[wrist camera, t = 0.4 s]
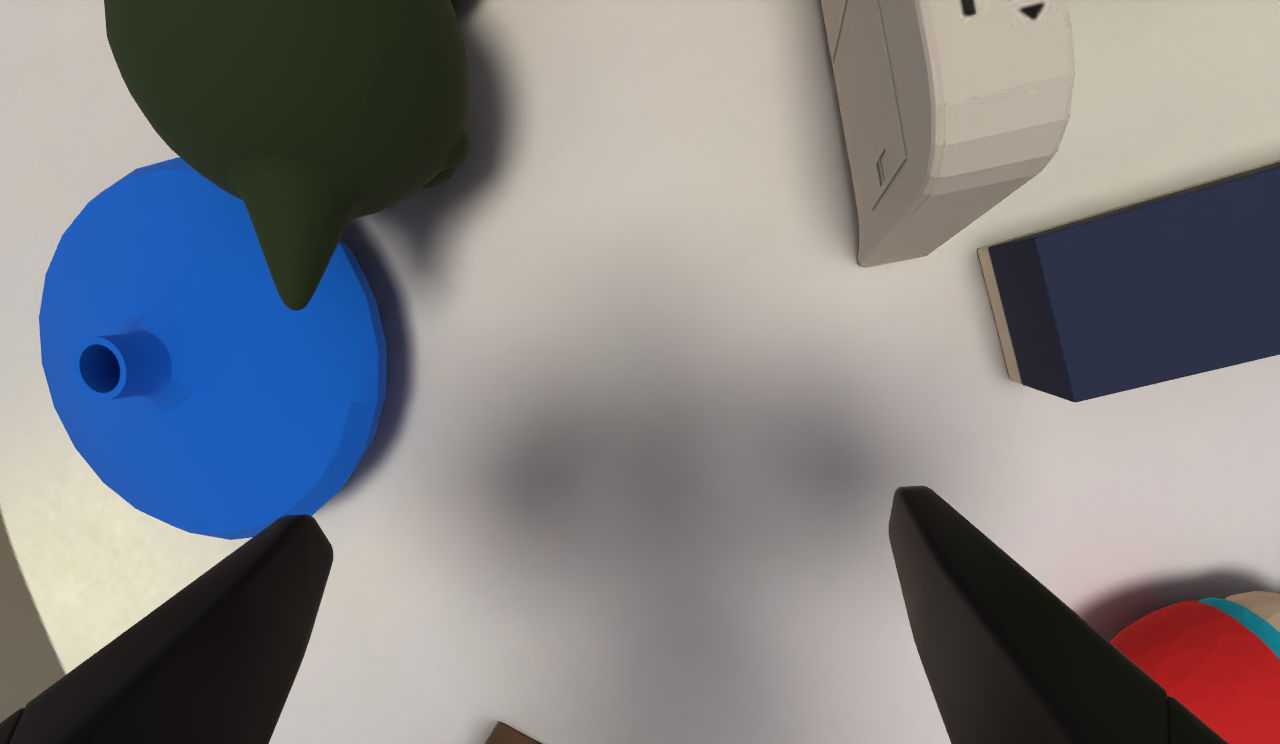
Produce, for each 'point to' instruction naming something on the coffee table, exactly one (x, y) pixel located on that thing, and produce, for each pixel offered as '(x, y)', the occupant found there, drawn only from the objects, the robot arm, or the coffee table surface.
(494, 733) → the sharpening stone holder
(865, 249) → the handheld gaming console
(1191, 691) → the toy figure
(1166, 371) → the dark blue rectangular block
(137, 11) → the green caterpillar figure
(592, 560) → the coffee table surface
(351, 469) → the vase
